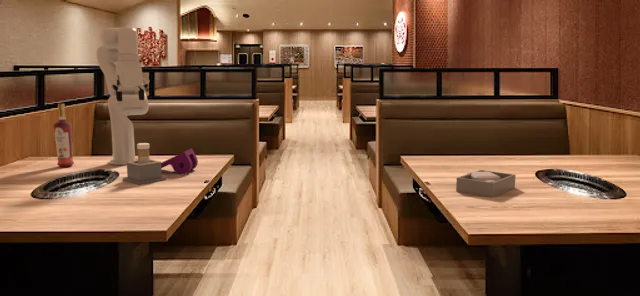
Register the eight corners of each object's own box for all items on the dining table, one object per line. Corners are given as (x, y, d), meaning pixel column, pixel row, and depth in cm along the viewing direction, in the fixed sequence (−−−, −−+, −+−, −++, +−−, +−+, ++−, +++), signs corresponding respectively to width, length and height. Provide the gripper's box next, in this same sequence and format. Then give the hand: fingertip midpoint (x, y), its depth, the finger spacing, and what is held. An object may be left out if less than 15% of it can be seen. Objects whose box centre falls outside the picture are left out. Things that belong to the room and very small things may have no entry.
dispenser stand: (456, 191, 186) (456, 177, 185) (479, 182, 200) (480, 169, 199) (492, 197, 177) (493, 183, 176) (514, 187, 191) (515, 174, 190)
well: (122, 180, 203) (121, 161, 202) (150, 175, 212) (149, 158, 211) (138, 184, 195) (137, 165, 194) (166, 179, 204) (165, 161, 203)
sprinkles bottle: (139, 176, 205) (137, 142, 203) (151, 175, 206) (150, 142, 204) (137, 178, 201) (136, 144, 199) (149, 178, 202) (148, 144, 200)
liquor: (78, 165, 234) (73, 103, 230) (68, 168, 227) (64, 104, 223) (63, 164, 235) (58, 103, 231) (53, 167, 228) (48, 104, 224)
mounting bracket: (156, 187, 217) (193, 169, 214) (147, 169, 216) (184, 151, 214) (165, 182, 226) (200, 165, 224) (156, 165, 226) (192, 148, 223)
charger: (481, 192, 180) (467, 184, 195) (507, 191, 181) (490, 183, 196) (481, 179, 180) (467, 172, 195) (507, 178, 180) (490, 171, 195)
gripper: (143, 59, 220) (145, 99, 223) (103, 58, 207) (106, 101, 210) (152, 58, 215) (154, 100, 218) (112, 58, 202) (115, 102, 205)
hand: (130, 100), depth 214 cm, fingers open, 9 cm apart
